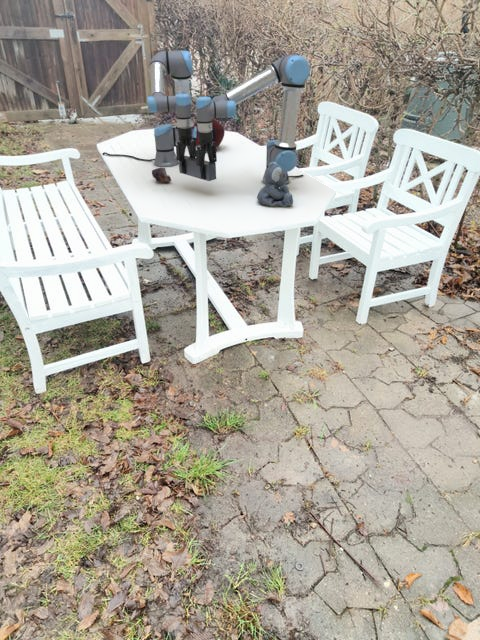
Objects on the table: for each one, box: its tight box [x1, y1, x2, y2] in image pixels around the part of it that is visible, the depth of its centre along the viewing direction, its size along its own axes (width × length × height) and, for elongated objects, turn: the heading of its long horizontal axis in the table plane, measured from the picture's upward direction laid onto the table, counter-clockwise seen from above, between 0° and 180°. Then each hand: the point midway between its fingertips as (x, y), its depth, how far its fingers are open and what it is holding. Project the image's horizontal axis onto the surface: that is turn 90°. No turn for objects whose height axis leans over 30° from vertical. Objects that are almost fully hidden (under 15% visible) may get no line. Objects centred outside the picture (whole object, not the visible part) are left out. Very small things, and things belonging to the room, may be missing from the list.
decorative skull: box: [194, 118, 225, 149], centre depth 320 cm, size 21×24×25 cm
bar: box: [178, 155, 217, 182], centre depth 241 cm, size 24×5×8 cm, turn 48°
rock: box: [151, 166, 172, 183], centre depth 260 cm, size 12×9×10 cm
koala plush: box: [256, 162, 294, 208], centre depth 228 cm, size 17×18×20 cm
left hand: (187, 171), depth 247 cm, fingers closed on bar, 5 cm apart
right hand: (207, 177), depth 239 cm, fingers closed on bar, 5 cm apart
